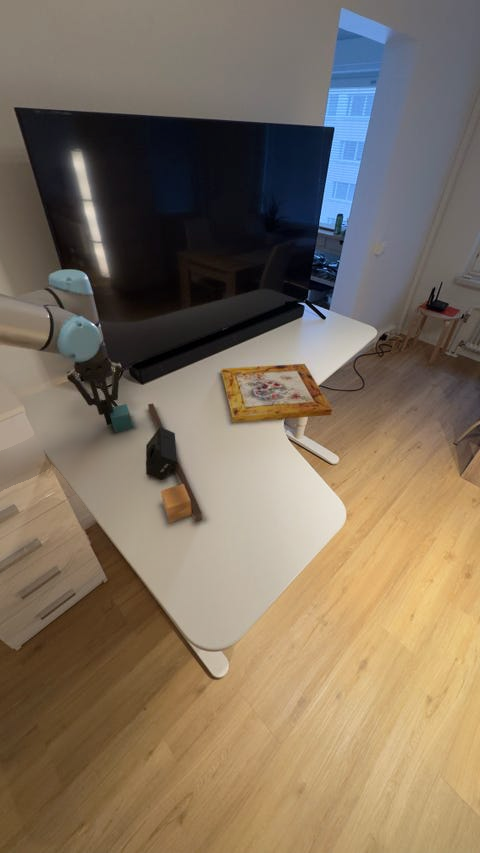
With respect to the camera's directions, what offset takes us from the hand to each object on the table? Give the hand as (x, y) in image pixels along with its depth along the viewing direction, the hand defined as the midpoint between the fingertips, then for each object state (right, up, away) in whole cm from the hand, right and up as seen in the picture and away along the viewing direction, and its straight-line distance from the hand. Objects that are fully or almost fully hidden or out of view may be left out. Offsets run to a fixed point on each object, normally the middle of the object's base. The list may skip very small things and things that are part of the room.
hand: (108, 421), depth 94 cm
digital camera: (+14, -10, -10) cm, 20 cm away
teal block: (+3, -1, +2) cm, 4 cm away
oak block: (+22, -20, -19) cm, 35 cm away
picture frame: (+47, +9, +17) cm, 51 cm away
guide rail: (+19, -9, -7) cm, 22 cm away
